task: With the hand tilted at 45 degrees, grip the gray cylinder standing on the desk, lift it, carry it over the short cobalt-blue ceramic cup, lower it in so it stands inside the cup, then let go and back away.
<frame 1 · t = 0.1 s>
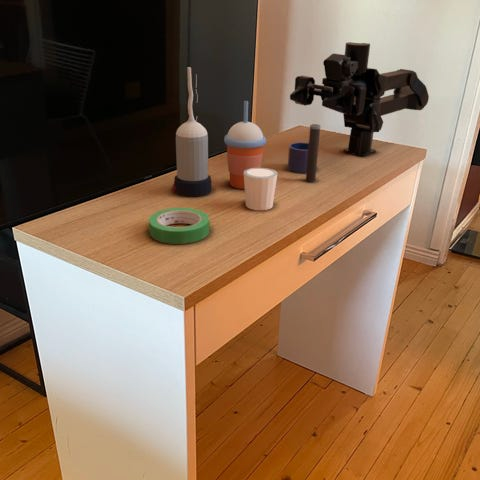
hand: (306, 100, 130), 17 cm above the table, tool horizontal, fingers open, 9 cm apart
tape roll: (179, 232, 107), on the table
cup with straw: (243, 185, 130), on the table
humidifier: (192, 191, 127), on the table
gray cylinder: (310, 180, 134), on the table
blue cup: (301, 168, 141), on the table
white tapered cup: (259, 206, 120), on the table
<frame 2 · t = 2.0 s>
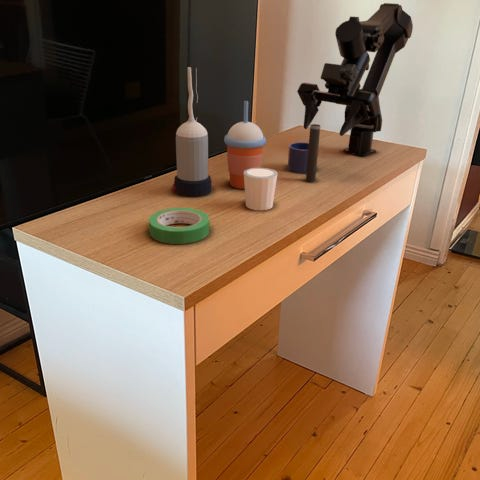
hand: (322, 131, 131), 11 cm above the table, tool tilted 45°, fingers open, 9 cm apart
nothing on the table moved.
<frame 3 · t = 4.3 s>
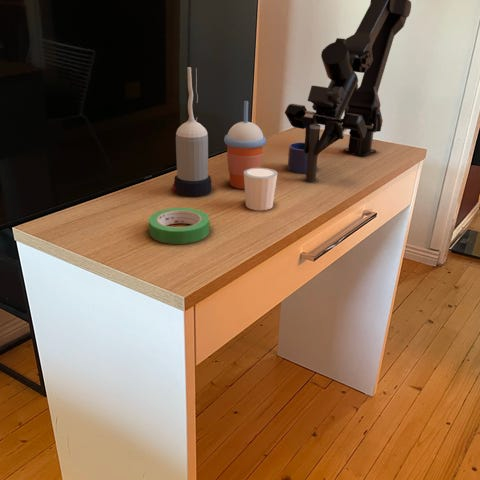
hand: (309, 153, 129), 7 cm above the table, tool tilted 45°, fingers closed on gray cylinder, 2 cm apart
gray cylinder: (310, 180, 134), on the table, touching gripper
everything else where it was.
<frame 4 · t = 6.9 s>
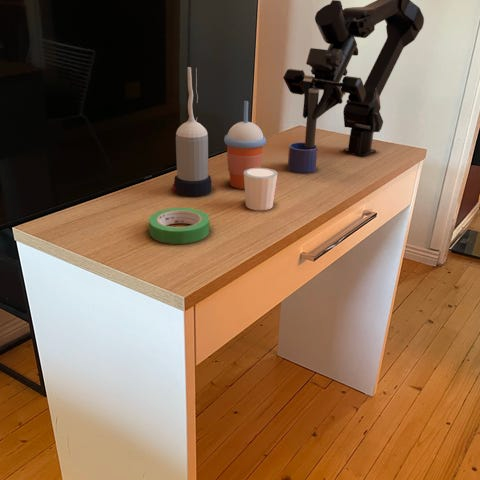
hand: (308, 117, 129), 13 cm above the table, tool tilted 45°, fingers closed on gray cylinder, 2 cm apart
gray cylinder: (309, 146, 133), point 7 cm above the table, touching gripper
everything else where it was.
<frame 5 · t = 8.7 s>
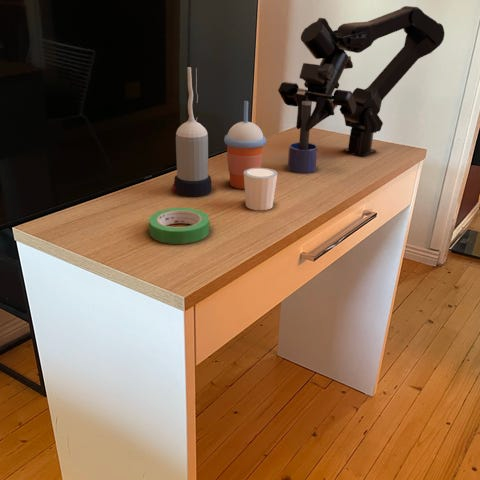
hand: (301, 129, 135), 10 cm above the table, tool tilted 45°, fingers closed on gray cylinder, 2 cm apart
gray cylinder: (302, 155, 140), point 3 cm above the table, touching gripper
everything else where it was.
when the fingers open (7 cm above the table, at t = 9.7 s): gray cylinder stays where it is, resting on blue cup.
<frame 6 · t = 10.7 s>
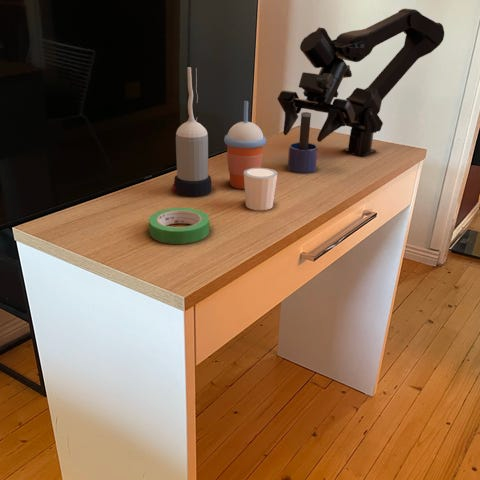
hand: (301, 137, 136), 8 cm above the table, tool tilted 45°, fingers open, 9 cm apart
gray cylinder: (302, 166, 141), point 1 cm above the table, touching blue cup
everything else where it was.
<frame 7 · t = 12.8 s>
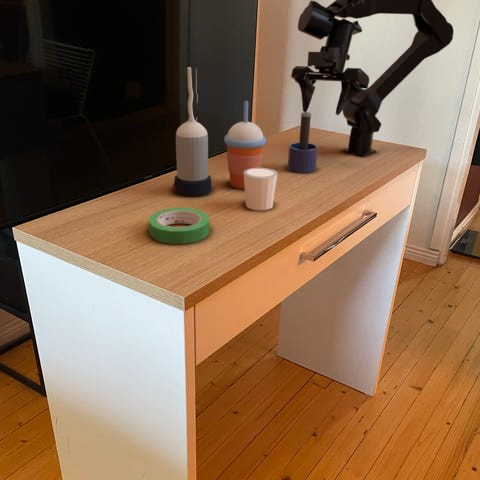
hand: (320, 113, 140), 12 cm above the table, tool tilted 25°, fingers open, 9 cm apart
nothing on the table moved.
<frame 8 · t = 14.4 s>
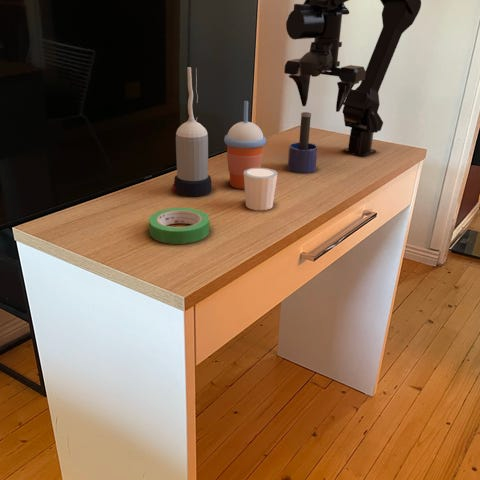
hand: (320, 108, 139), 13 cm above the table, tool pointing down, fingers open, 9 cm apart
nothing on the table moved.
at the end: gray cylinder 0.1 cm off-centre in the blue cup, point 0.6 cm above the blue cup's base; the gripper is holding nothing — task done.
